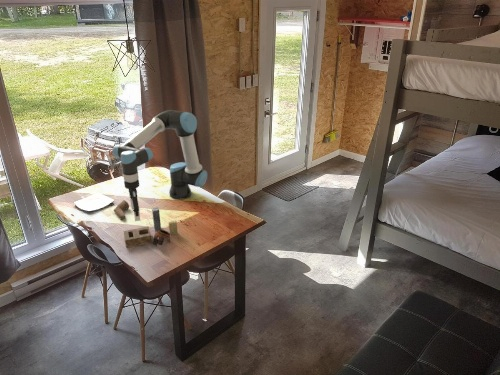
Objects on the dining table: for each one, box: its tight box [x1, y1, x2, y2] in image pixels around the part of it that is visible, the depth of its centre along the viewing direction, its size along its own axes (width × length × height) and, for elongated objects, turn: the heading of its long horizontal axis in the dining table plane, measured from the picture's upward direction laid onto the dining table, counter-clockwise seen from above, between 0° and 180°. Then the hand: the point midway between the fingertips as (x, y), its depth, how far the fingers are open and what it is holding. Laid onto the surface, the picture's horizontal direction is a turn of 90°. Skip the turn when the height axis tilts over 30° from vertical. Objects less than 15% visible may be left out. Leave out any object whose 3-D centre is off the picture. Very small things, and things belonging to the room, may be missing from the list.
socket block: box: [123, 226, 153, 249], centre depth 220 cm, size 14×10×5 cm
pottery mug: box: [152, 229, 171, 247], centre depth 218 cm, size 12×10×8 cm
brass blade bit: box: [168, 220, 179, 236], centre depth 226 cm, size 4×2×8 cm, turn 112°
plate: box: [73, 192, 115, 213], centre depth 258 cm, size 20×20×3 cm
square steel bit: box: [151, 206, 162, 232], centre depth 229 cm, size 4×4×14 cm
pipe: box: [113, 200, 130, 221], centre depth 247 cm, size 6×17×10 cm
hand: (135, 214), depth 213 cm, fingers open, 13 cm apart
